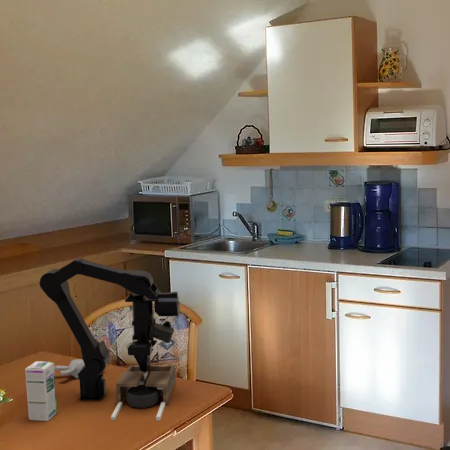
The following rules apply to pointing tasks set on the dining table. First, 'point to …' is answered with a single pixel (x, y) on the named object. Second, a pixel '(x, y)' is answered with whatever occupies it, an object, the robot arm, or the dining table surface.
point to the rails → (121, 406)
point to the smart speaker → (142, 396)
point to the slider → (147, 377)
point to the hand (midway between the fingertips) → (145, 369)
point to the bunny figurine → (71, 368)
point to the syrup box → (41, 391)
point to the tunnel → (156, 378)
